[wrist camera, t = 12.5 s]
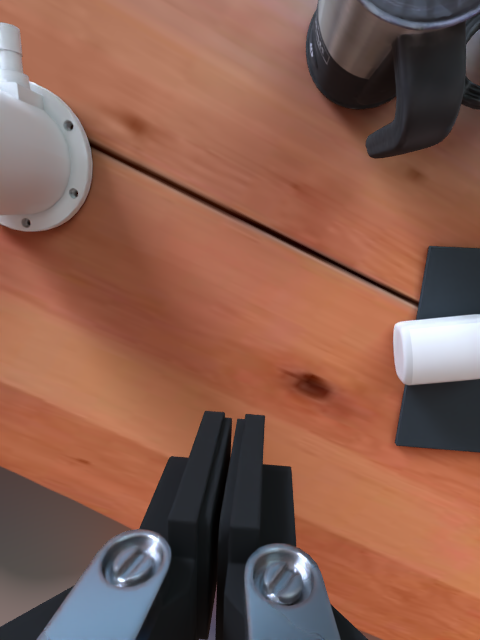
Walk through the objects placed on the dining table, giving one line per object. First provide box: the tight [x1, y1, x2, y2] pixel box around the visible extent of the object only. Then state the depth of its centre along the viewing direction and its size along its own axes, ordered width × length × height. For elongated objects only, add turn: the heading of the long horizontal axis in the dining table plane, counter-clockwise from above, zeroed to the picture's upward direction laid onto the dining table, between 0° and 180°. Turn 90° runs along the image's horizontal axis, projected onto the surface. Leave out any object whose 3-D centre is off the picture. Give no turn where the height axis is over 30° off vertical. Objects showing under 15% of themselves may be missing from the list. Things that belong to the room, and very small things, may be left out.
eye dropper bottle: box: [393, 314, 480, 385], centre depth 34 cm, size 4×6×12 cm
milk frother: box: [306, 0, 480, 158], centre depth 24 cm, size 14×16×15 cm
